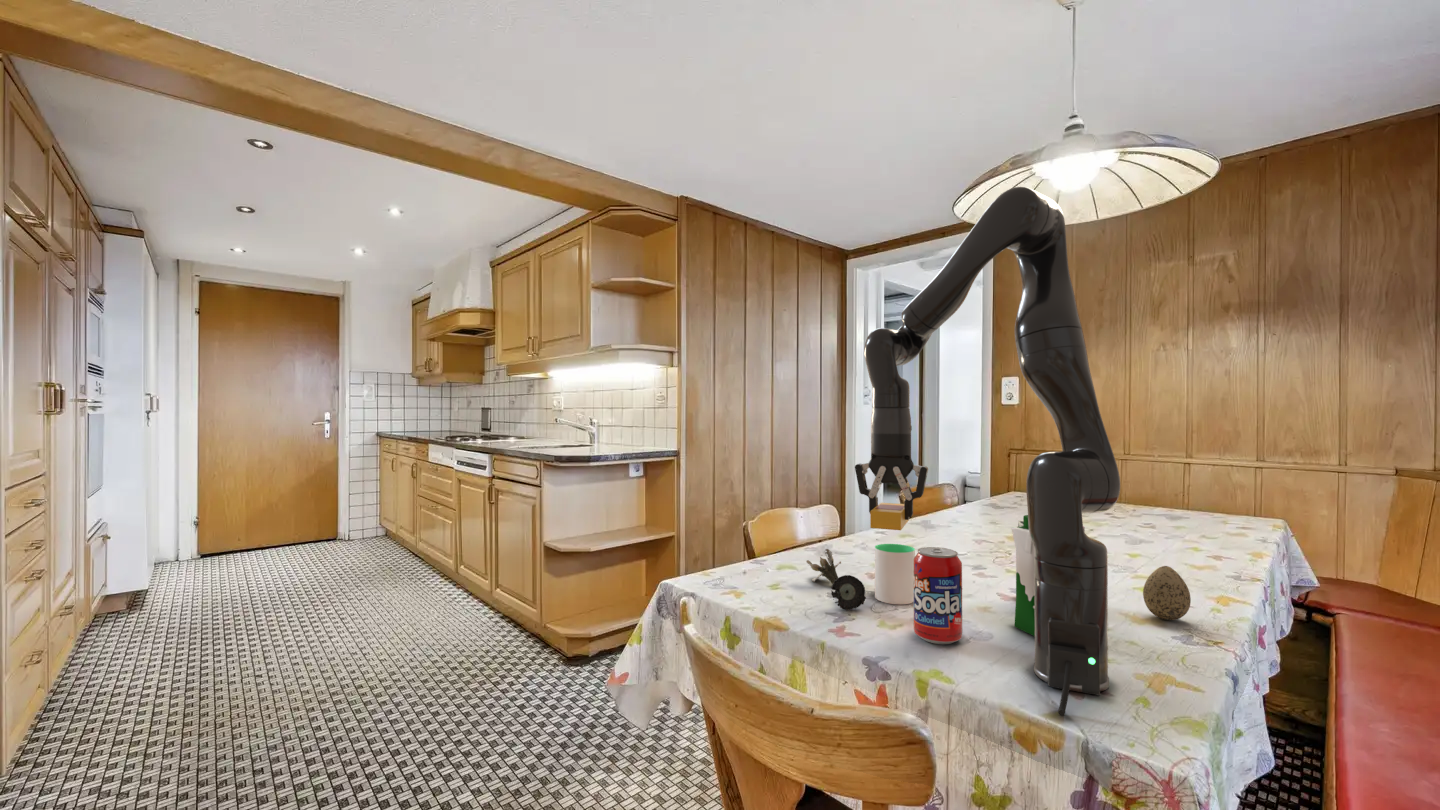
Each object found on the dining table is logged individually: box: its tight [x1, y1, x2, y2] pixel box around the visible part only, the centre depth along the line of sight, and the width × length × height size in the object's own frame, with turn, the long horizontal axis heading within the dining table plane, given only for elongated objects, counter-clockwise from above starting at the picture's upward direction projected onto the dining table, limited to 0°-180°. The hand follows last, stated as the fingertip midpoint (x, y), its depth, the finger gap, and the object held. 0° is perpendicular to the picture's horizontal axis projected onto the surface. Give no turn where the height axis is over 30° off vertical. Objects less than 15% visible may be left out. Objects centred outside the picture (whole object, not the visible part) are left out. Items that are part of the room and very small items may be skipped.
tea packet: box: [869, 502, 910, 531], centre depth 115 cm, size 12×6×3 cm, turn 156°
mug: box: [874, 543, 916, 605], centre depth 126 cm, size 12×8×10 cm
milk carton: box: [1011, 514, 1035, 637], centre depth 105 cm, size 9×9×20 cm
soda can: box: [913, 546, 963, 645], centre depth 102 cm, size 8×8×15 cm
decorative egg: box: [1142, 565, 1192, 621], centre depth 111 cm, size 7×7×10 cm
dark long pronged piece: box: [805, 548, 867, 611], centre depth 128 cm, size 9×22×10 cm, turn 179°
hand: (891, 517), depth 116 cm, fingers closed on tea packet, 5 cm apart
